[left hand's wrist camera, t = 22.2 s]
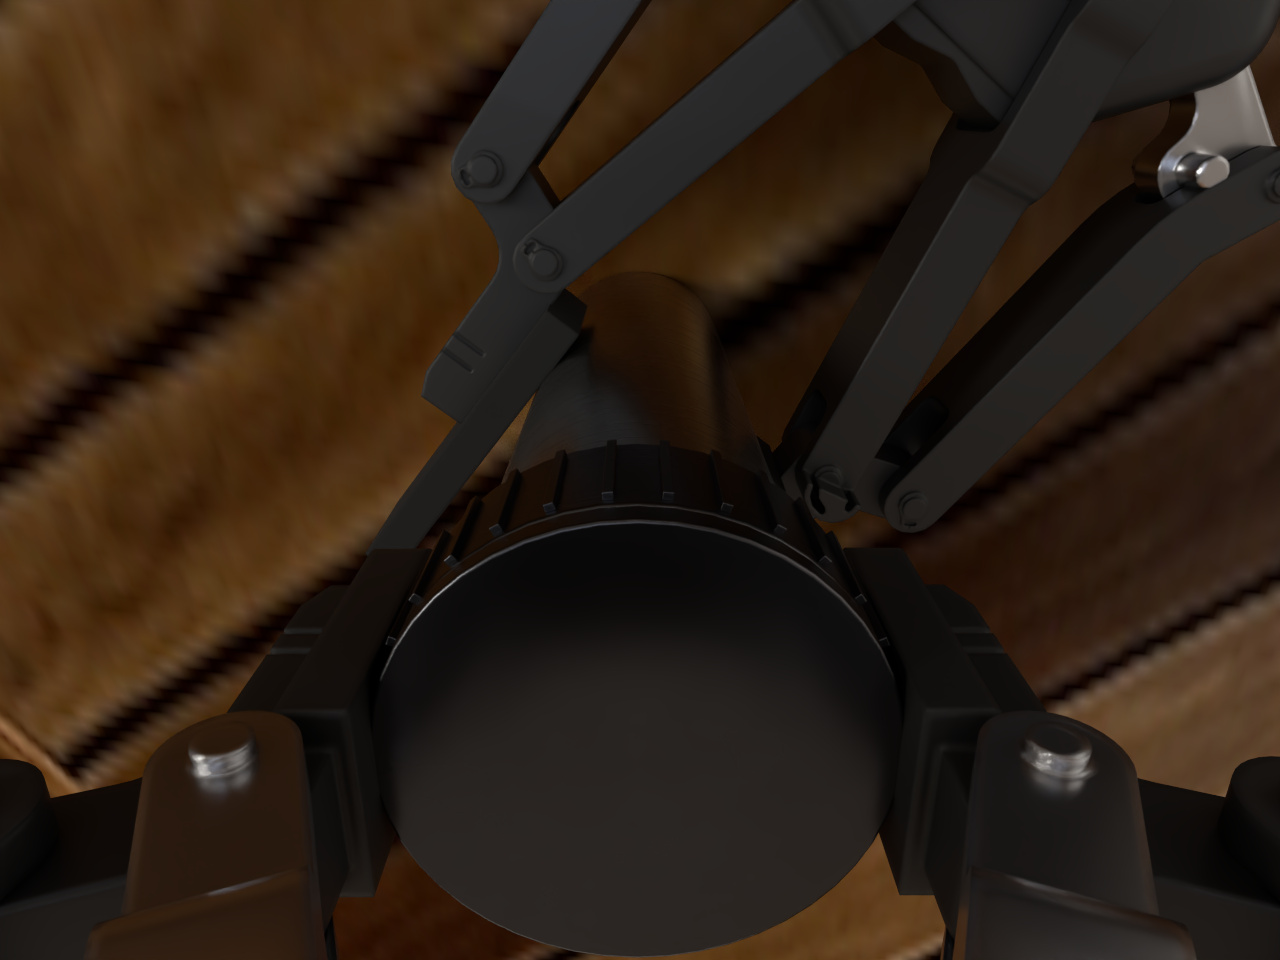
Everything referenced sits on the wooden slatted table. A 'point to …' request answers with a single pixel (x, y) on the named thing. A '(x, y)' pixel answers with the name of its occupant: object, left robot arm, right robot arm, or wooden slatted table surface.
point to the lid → (637, 705)
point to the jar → (640, 380)
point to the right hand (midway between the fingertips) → (494, 596)
